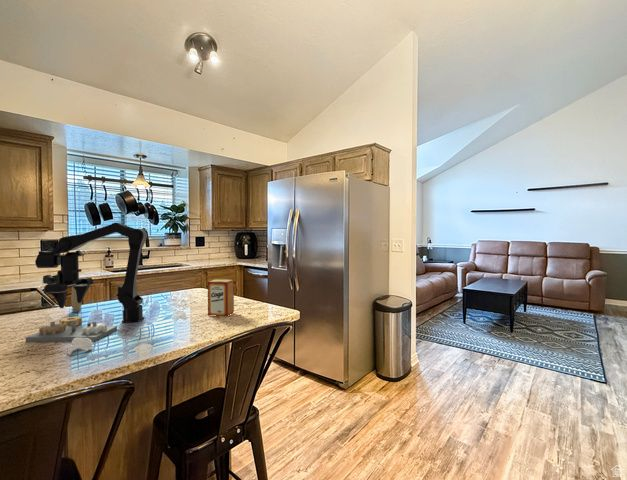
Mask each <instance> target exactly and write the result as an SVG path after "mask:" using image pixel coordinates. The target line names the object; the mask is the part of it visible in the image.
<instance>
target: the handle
mask: <svg viewBox="0 0 627 480" xmlns="http://www.w3.org/2000/svg"><path fill="white" fill-rule="evenodd" d="M70 295H71V297H70V302H71V303H70V304H71V308H72V309H71V310H72V311H71V312H80V311H81V310H82V303H83V302H82V301H83V300H82V301H81V303H78V302H77V295H76V290H75V289H74V288H73V286H72V287H71V294H70Z"/></svg>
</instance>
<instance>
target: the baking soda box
mask: <svg viewBox="0 0 627 480" xmlns="http://www.w3.org/2000/svg"><path fill="white" fill-rule="evenodd" d="M234 283H235V281H234V279H213V280H212V279H211V280H209V281H207V316H208V315H216V316H215V317H219V316H228V315H230V314H232V313H233V312H234V313H235V310H234V309H235V302H234V301H235V299H234V297H235V296H234V295H235V290H234ZM234 313H233V314H234ZM233 314H232V315H233ZM230 316H231V315H230ZM228 317H229V316H228Z"/></svg>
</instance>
